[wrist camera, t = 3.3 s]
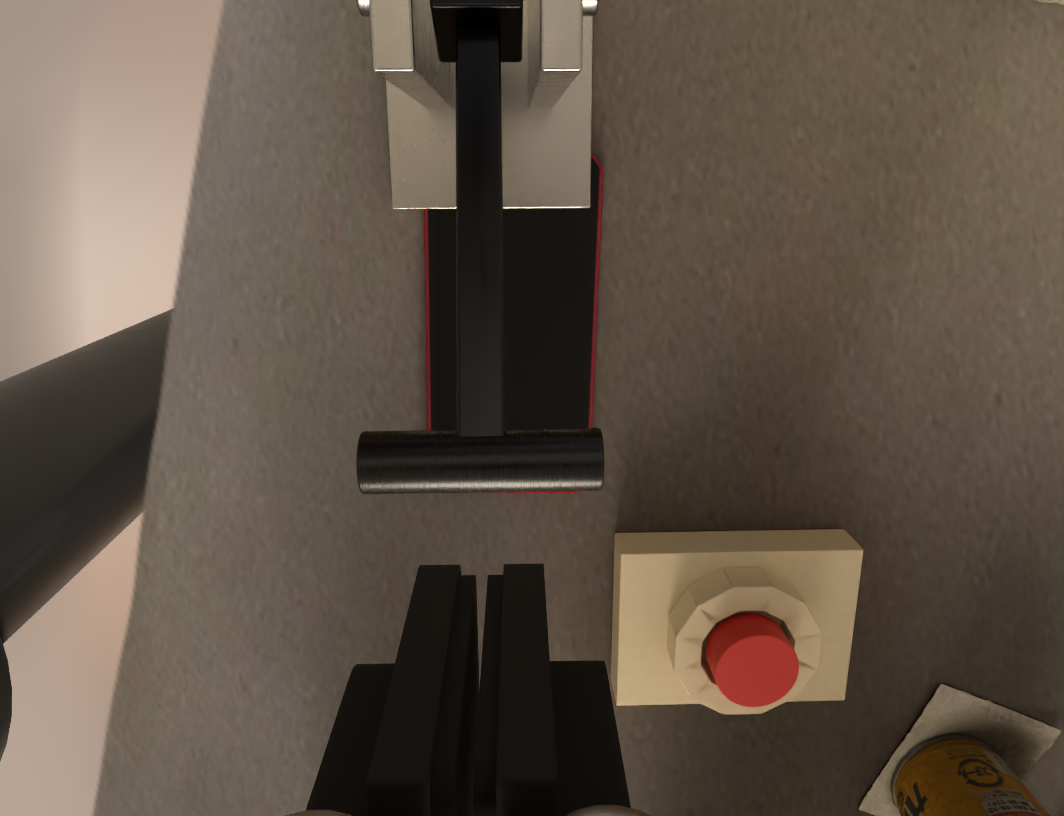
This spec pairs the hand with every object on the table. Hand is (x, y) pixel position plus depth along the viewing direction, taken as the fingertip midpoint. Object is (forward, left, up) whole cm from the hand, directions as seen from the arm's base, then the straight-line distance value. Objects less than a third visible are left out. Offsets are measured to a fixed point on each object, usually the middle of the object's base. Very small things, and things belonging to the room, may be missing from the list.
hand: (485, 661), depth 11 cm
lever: (0, +5, -12) cm, 13 cm away
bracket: (0, +11, -25) cm, 27 cm away
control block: (+11, -14, -25) cm, 31 cm away
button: (+11, -14, -21) cm, 28 cm away
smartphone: (0, 0, -26) cm, 26 cm away
